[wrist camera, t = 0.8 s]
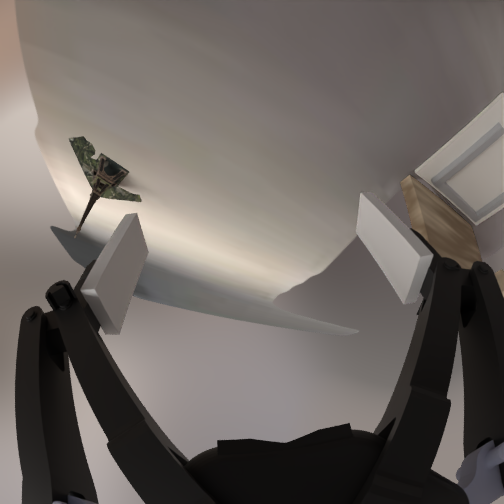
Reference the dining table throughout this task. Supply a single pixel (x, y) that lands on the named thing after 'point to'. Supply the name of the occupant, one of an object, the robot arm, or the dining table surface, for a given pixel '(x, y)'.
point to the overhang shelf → (442, 226)
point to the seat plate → (472, 165)
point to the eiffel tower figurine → (100, 175)
